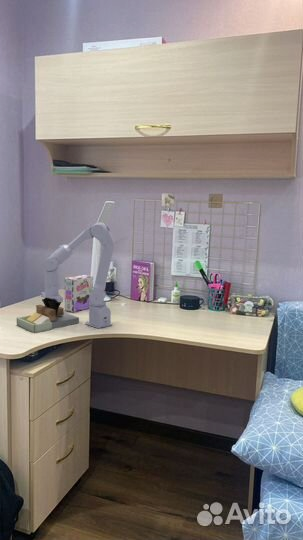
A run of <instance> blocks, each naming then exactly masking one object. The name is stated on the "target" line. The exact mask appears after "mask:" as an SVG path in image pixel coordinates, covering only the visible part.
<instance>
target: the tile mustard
mask: <svg viewBox="0 0 303 540" xmlns="http://www.w3.org/2000/svg"><path fill="white" fill-rule="evenodd" d="M41 316H42V315H41V314H38V313H36V312H34V313H33V314H31V316H30V317H29V318H27V319H26V320H27V321H28V322H29V323H32V324H34V323H33V322H34V321H36V320H37V319H38V318H40V317H41ZM34 325H35V324H34Z"/></svg>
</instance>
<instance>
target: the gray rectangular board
mask: <svg viewBox="0 0 303 540" xmlns="http://www.w3.org/2000/svg"><path fill="white" fill-rule="evenodd" d="M31 315H32V314H31ZM31 315H24V316H19V317H16V326H18V327H20V328H22V329H25V330H27V331H28V332H31V333H33V334H37V333H41V332H45V331H46V332H47V331H51V330H53V329H57V328H62V327H68V326H72V325H76V324H80V317H79V316H75V315H73V314H71V313H67V312H65V311H64V315H62V316H57V317H56V320H54V321H51V322H47V323H42V324H37V325H34V324H32V323H29V322H28V321H27V320H26V319H27V318H29V317H30V316H31Z"/></svg>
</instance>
